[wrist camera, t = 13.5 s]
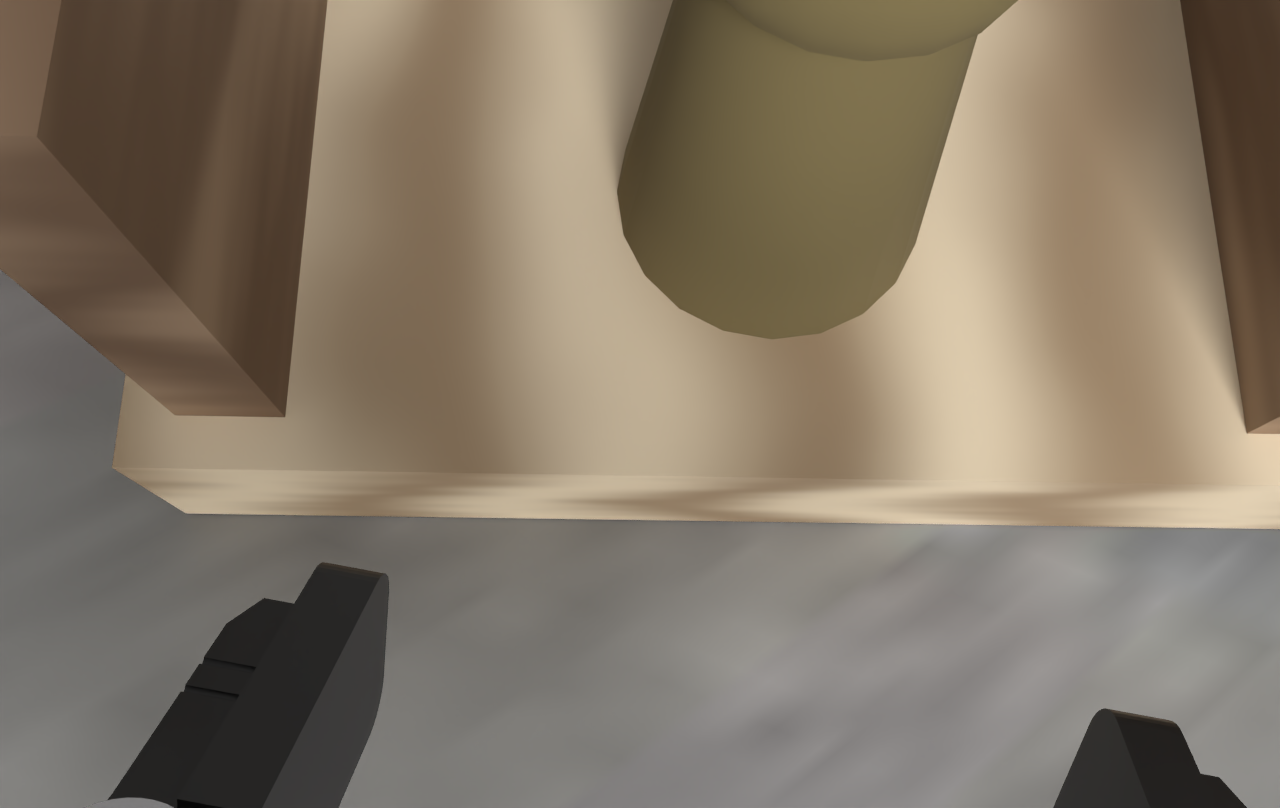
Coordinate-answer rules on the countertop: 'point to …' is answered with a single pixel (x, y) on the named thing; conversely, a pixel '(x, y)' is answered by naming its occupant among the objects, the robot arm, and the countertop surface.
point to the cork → (791, 153)
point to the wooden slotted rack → (615, 284)
